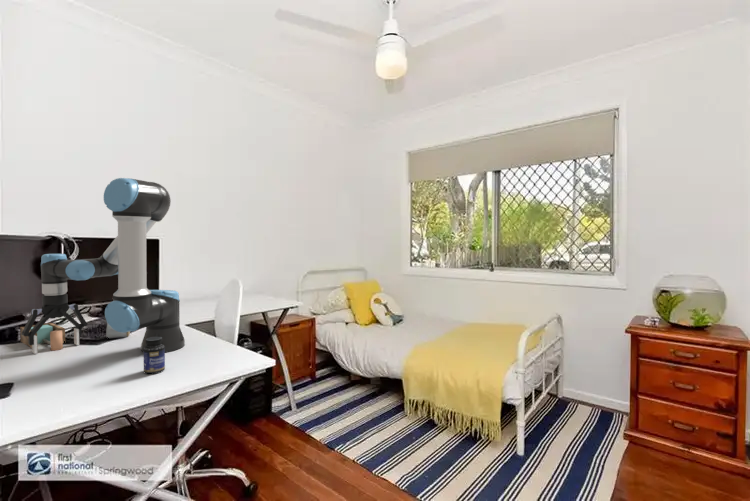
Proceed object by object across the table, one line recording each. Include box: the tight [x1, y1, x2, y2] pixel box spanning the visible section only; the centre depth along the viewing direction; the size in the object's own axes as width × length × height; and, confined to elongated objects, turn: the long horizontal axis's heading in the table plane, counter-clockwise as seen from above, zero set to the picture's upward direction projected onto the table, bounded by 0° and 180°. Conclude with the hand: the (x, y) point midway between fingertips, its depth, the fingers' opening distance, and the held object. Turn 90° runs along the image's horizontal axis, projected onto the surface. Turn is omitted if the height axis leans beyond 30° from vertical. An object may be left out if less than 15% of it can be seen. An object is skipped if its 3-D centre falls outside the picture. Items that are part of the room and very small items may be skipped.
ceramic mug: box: [105, 322, 131, 339], centre depth 165 cm, size 11×8×8 cm
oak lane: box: [19, 322, 66, 349], centre depth 155 cm, size 16×10×6 cm, turn 56°
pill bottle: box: [142, 337, 166, 374], centre depth 125 cm, size 6×6×11 cm
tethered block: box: [30, 325, 64, 352], centre depth 152 cm, size 22×6×7 cm, turn 56°
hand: (56, 348), depth 147 cm, fingers open, 12 cm apart
